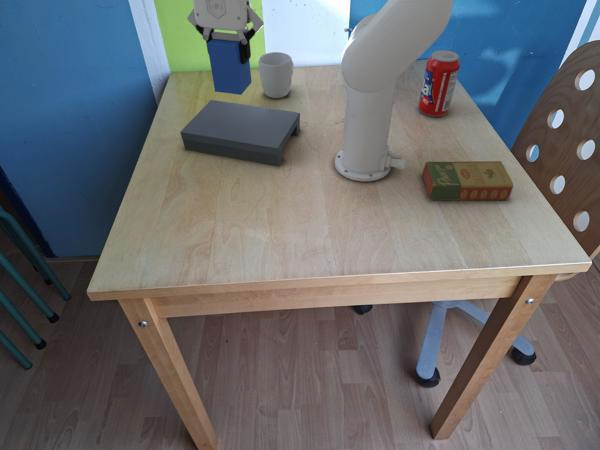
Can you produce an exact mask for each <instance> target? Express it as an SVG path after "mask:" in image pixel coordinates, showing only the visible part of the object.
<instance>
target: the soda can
mask: <svg viewBox="0 0 600 450" xmlns="http://www.w3.org/2000/svg"><path fill="white" fill-rule="evenodd" d="M459 58H460V55H459V54H458V53H456V52H454V51H452V50H446V49H445V50H444V49H439V50H438V49H437V50H435V51H433V52H431V55H430V57H428V58H427V60H426V65H425V69H424V75H423V80H422V84H421V91H420V96H419V101H418V110H419V111H420V112H421V113H422V114H423V115H426V116H429V117H433V118H434V117H442V116H445V115H447V114H448V113H449V110H450V107H451V103H452V100H453V95H454V91H455V87H456V84H457V79H458V75H459V72H460V68H461V61H460V59H459Z"/></svg>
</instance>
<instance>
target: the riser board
mask: <svg viewBox="0 0 600 450" xmlns="http://www.w3.org/2000/svg"><path fill="white" fill-rule="evenodd" d="M300 131H301V113H300V112H297V111H289V110H284V109H283V110H282V109H276V108H269V107H263V106H256V105H249V104H243V103H236V102H229V101H222V100H214V99H210V100H209V101H208V103H206V104H205V106H203V107H202V108H201V110H200V111H199V112H198V113H197V114H196V115H195V116H193V118H192V119H191V120H190V121H189V122H188V123H187V124H186V125H185V126H184V127H183V128H182V129H181V130H180V132H179V134H180V137H181V140H182V143H183V147H184V150H186V151H192V152H196V153H197V152H198V153H201V154H202V153H203V154H209V155H214V156H220V157H224V158H230V159H236V160H242V161H248V162H252V163H253V162H254V163H259V164H264V165H268V166H269V165H270V166H275V167H280V165H281V164H282V163H283V149H284V147H285V145H286V144H287V142H288V140H289V139H290V137H291V136H295V137H298V135H299V134H300Z"/></svg>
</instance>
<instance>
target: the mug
mask: <svg viewBox="0 0 600 450" xmlns="http://www.w3.org/2000/svg"><path fill="white" fill-rule="evenodd" d="M294 70H295V66H294V61H293V59H292V56H291V55H289V54H287V53H285V52H279V51H272V52H268V53H264V54H262V55H260V56H259V57H258V73H259V79H260V83H261V88H262V90H263V93H264V94H265V95H266V96H267V97H269V98H271V99H282V98H284V97H286V96H287V95H289V93H290V91H291V88H292V87H291V86H292V80H293V74H294Z"/></svg>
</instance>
